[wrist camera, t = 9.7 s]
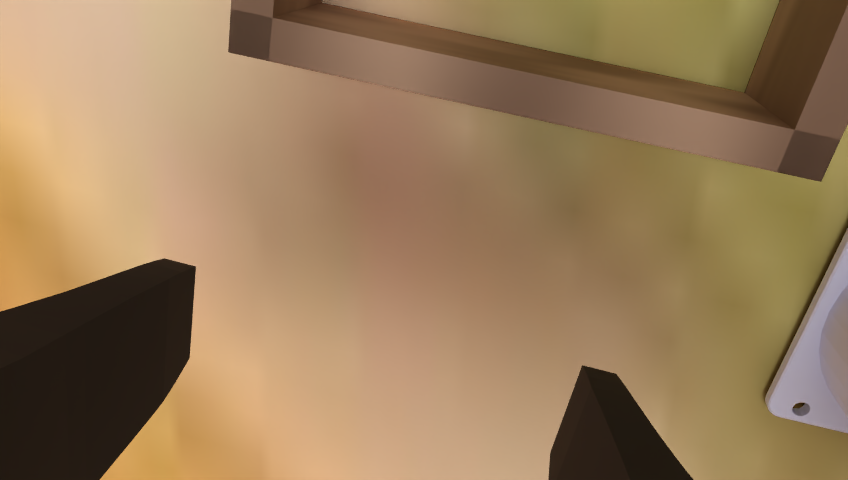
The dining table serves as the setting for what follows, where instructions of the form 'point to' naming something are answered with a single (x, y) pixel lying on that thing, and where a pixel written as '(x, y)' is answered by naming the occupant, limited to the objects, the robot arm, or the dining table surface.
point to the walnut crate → (586, 79)
